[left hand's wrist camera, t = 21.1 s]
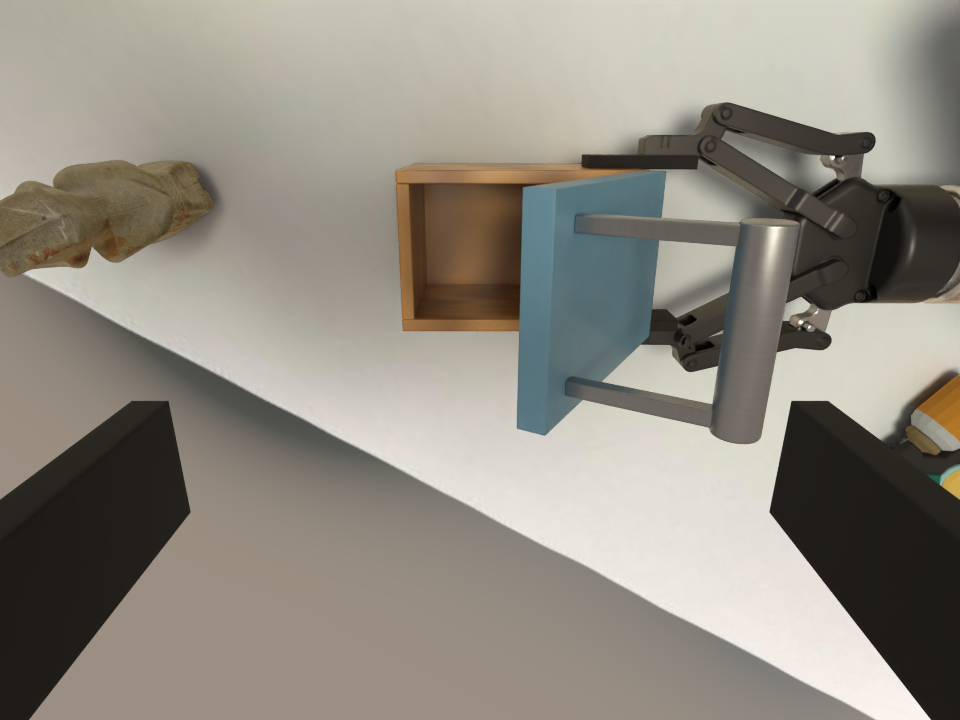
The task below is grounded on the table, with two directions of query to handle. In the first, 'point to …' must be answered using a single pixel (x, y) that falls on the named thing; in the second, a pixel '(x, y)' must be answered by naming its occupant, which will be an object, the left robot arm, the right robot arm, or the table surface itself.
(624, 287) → the lid
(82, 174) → the sculpture
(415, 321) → the chest
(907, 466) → the left robot arm
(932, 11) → the table surface
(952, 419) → the spray gun
